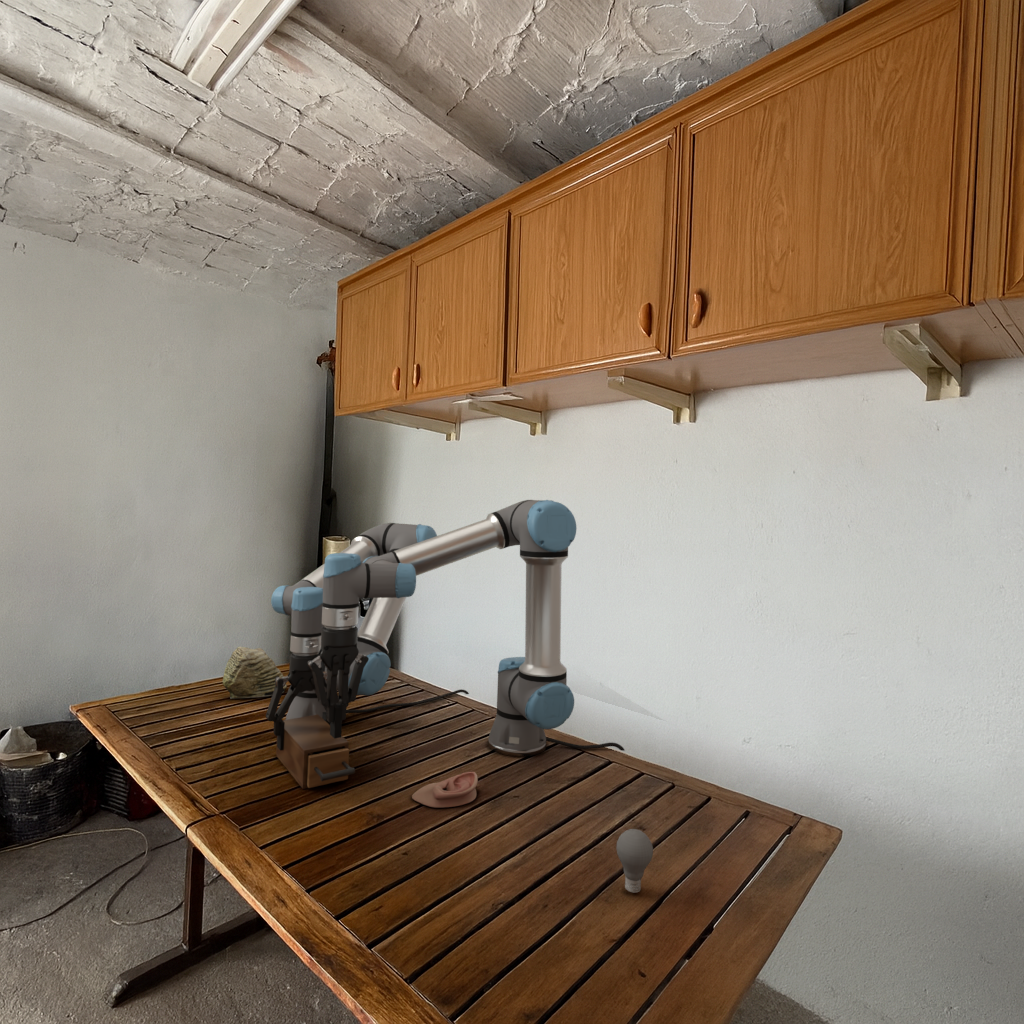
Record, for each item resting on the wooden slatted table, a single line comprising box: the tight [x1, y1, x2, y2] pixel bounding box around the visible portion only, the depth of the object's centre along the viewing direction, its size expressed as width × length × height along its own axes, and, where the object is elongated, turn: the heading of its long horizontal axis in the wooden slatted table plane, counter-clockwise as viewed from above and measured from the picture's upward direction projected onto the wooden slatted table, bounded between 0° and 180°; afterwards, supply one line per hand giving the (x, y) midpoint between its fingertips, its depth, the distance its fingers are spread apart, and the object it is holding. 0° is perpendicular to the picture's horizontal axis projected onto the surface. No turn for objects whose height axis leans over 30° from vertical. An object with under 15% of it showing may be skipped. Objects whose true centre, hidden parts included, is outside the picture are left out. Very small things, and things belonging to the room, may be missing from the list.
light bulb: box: [615, 828, 654, 894], centre depth 106 cm, size 6×6×10 cm
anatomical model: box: [411, 771, 479, 809], centre depth 136 cm, size 13×4×12 cm
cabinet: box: [275, 715, 349, 790], centre depth 148 cm, size 20×10×8 cm, turn 36°
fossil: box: [222, 646, 288, 699], centre depth 198 cm, size 9×18×15 cm, turn 132°
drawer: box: [307, 747, 356, 789], centre depth 143 cm, size 25×9×7 cm, turn 36°
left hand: (302, 744), depth 153 cm, fingers closed on cabinet, 10 cm apart
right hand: (335, 735), depth 135 cm, fingers closed
